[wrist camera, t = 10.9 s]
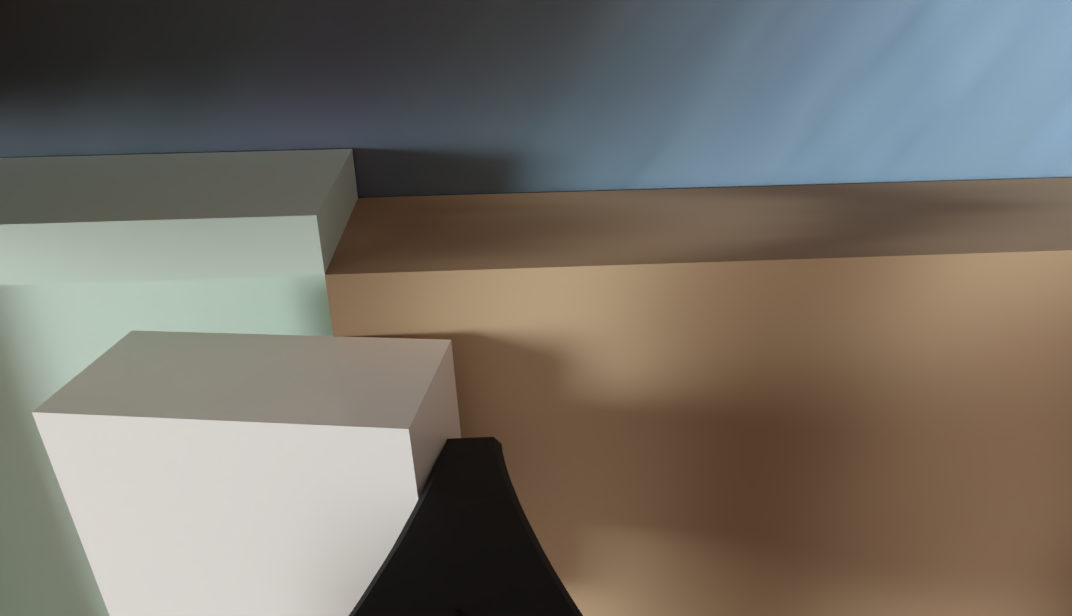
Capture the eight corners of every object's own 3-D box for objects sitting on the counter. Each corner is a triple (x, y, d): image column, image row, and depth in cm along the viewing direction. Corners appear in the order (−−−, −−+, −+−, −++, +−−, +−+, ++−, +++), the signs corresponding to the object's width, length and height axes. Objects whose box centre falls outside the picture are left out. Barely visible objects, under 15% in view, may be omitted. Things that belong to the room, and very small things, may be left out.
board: (1140, 175, 14) (1302, 243, 11) (974, 671, 19) (1055, 798, 16) (358, 197, 13) (324, 274, 10) (416, 703, 18) (404, 840, 16)
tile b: (451, 339, 10) (409, 429, 9) (477, 595, 12) (446, 710, 11) (131, 330, 11) (30, 411, 9) (205, 575, 13) (134, 680, 11)
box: (352, 148, 13) (315, 215, 10) (418, 726, 19) (407, 864, 16) (-237, 164, 12) (-439, 237, 10) (28, 748, 18) (-51, 893, 16)
